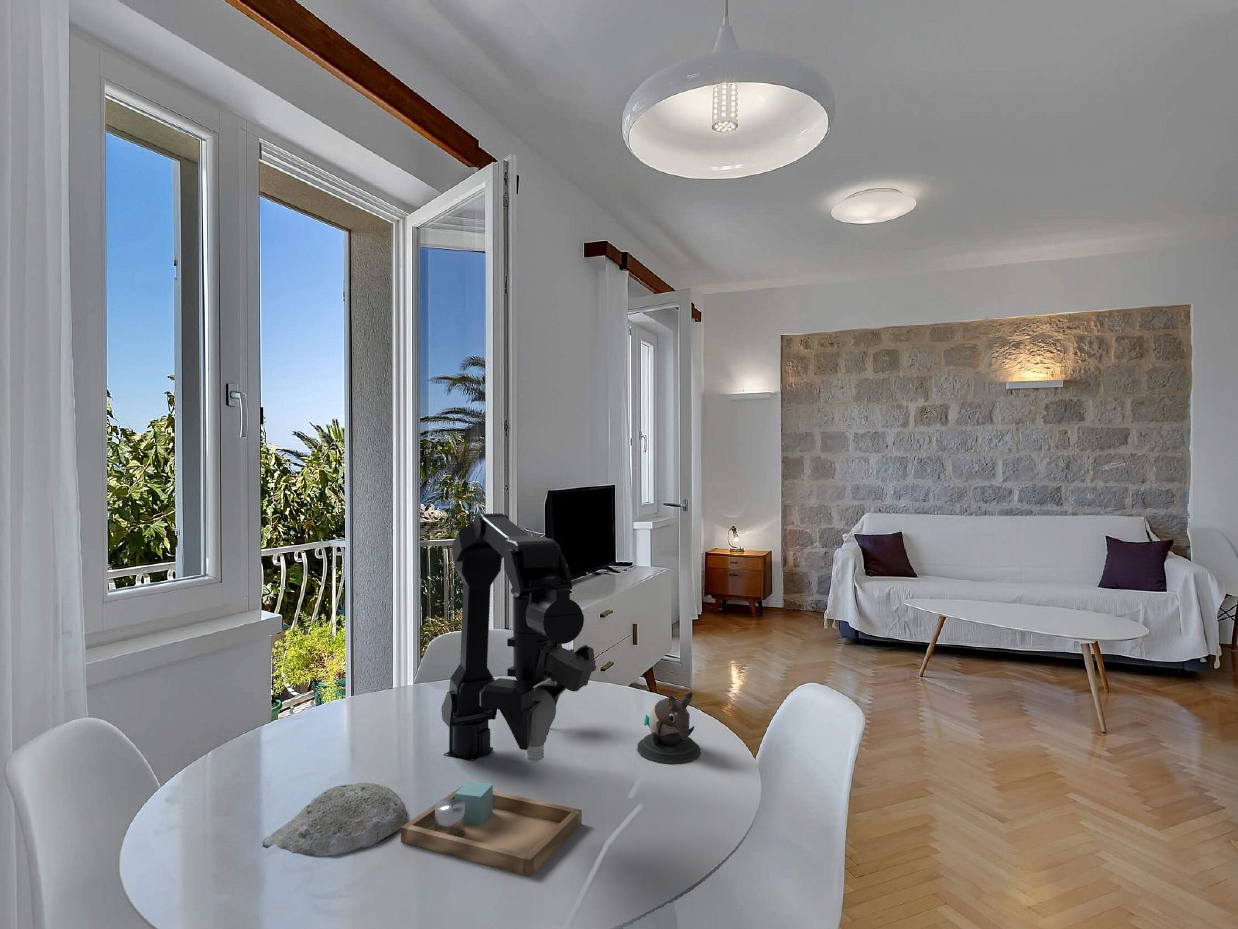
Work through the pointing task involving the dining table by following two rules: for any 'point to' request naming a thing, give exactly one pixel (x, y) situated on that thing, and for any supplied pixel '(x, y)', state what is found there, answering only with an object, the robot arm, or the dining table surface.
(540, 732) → the light bulb
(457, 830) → the grey metal cylinder
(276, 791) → the dining table surface
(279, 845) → the stone
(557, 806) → the tray
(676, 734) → the figurine
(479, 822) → the teal block
